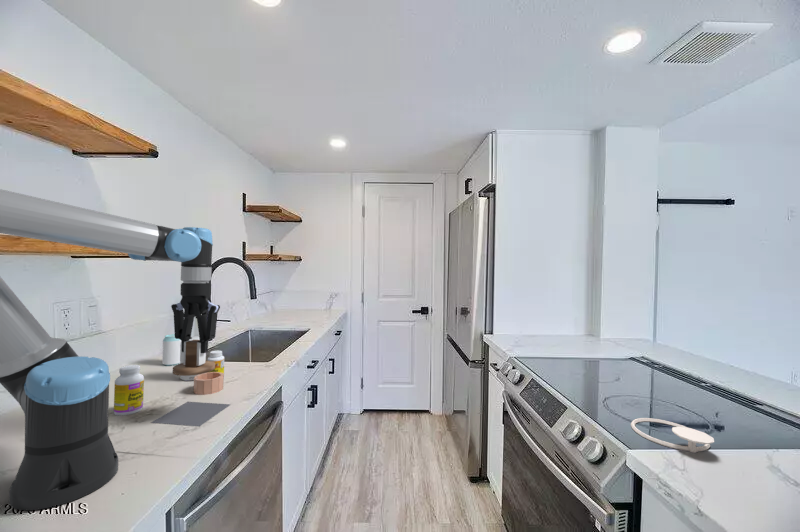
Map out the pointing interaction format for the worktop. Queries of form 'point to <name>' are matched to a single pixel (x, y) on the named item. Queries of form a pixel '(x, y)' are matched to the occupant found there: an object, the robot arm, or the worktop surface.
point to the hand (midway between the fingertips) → (194, 363)
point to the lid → (192, 362)
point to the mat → (191, 414)
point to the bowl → (208, 383)
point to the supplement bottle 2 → (217, 361)
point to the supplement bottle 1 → (128, 390)
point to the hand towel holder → (681, 431)
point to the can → (171, 350)
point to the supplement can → (185, 378)
